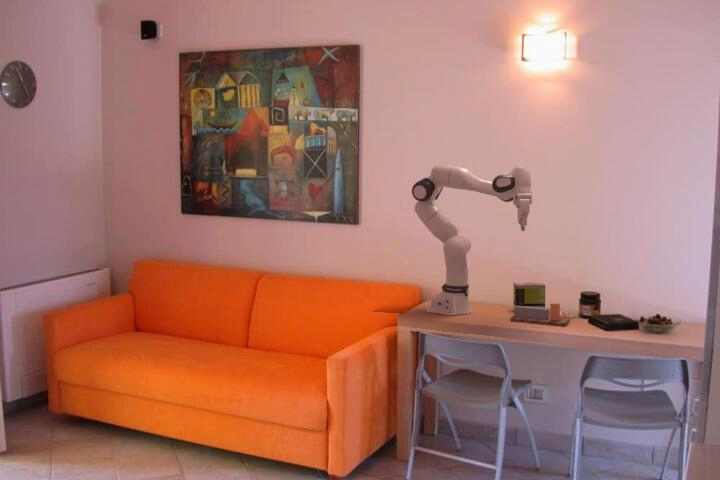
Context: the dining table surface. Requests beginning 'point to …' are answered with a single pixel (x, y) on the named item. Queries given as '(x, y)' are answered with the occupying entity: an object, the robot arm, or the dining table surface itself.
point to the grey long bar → (532, 312)
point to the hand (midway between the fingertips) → (523, 228)
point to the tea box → (529, 294)
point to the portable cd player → (613, 322)
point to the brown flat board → (541, 321)
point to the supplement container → (589, 304)
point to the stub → (554, 311)
